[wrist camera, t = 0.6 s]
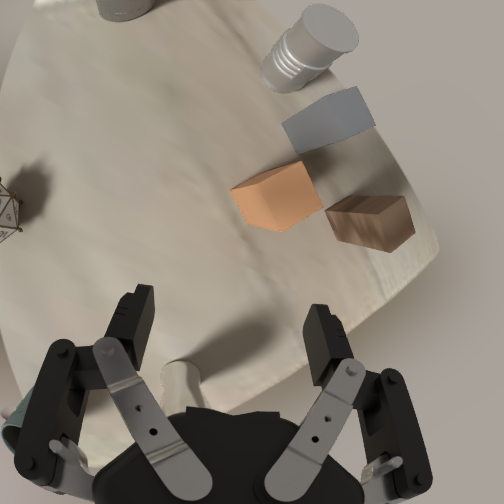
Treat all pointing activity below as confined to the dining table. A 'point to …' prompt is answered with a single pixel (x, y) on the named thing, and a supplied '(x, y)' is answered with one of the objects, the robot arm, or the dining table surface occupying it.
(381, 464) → the robot arm
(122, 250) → the dining table surface
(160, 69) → the dining table surface
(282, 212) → the orange block
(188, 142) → the dining table surface
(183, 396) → the beer glass
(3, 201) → the game die
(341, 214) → the walnut block
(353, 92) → the grey block
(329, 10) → the grey ribbed canister
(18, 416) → the grey-green cup
